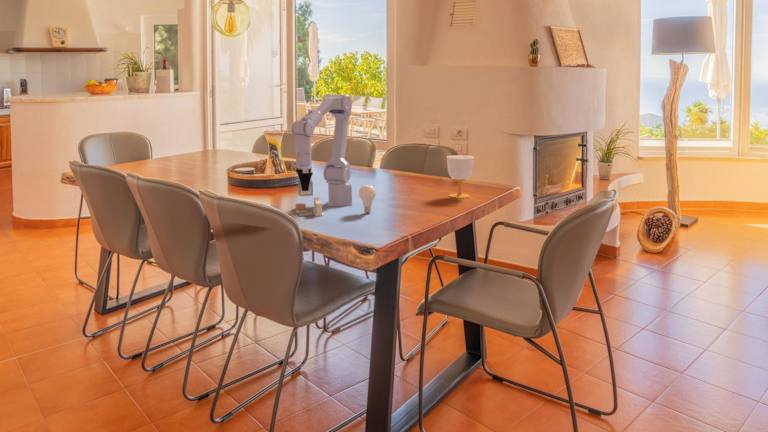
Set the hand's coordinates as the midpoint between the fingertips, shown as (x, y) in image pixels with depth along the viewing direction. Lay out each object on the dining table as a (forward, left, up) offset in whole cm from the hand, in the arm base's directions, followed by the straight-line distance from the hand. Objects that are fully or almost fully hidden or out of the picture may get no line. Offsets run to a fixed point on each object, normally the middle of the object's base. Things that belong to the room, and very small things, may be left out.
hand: (304, 189), depth 237 cm
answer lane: (+1, -7, -10) cm, 12 cm away
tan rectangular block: (-5, -2, -10) cm, 11 cm away
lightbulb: (-23, +2, -10) cm, 26 cm away
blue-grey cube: (0, 0, -2) cm, 2 cm away
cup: (-68, -23, -10) cm, 73 cm away
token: (+1, -9, -10) cm, 13 cm away
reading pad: (0, 0, -10) cm, 10 cm away
